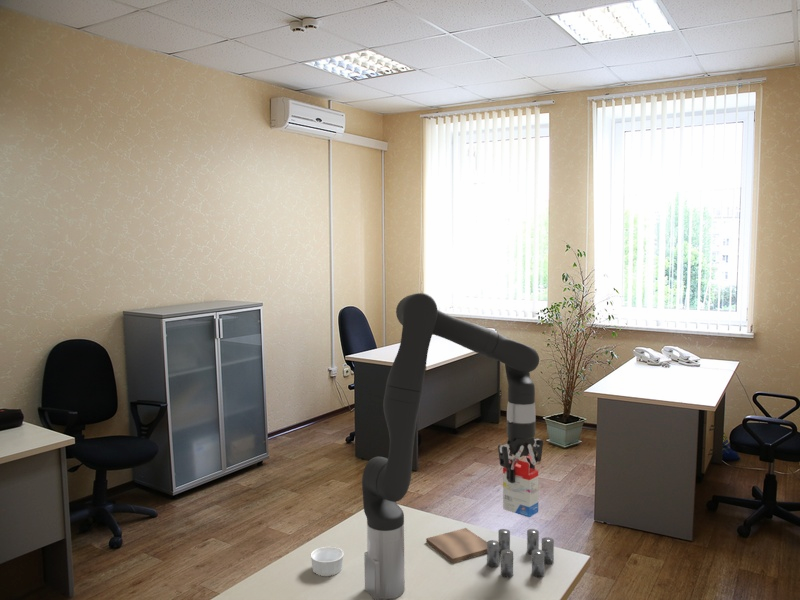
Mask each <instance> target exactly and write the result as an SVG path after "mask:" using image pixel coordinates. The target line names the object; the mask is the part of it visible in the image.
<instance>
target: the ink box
mask: <svg viewBox="0 0 800 600" xmlns="http://www.w3.org/2000/svg"><path fill="white" fill-rule="evenodd" d="M511 463H512V460H511ZM514 469H515V483H510V482H509V481H508V480H507V469H506V468H505V467H503V466H502V487H503V488H502V508H503V510H504V511H507V512H512V513H514V514H517V515H521V516H523V517H527V518H531V517H533V516H534V515H536V514H537V513H539V469H532V468H530V464H529V463H528V462H527V461H523V460H520V459H519V461H518V462H516V465H515V468H514Z"/></svg>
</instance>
